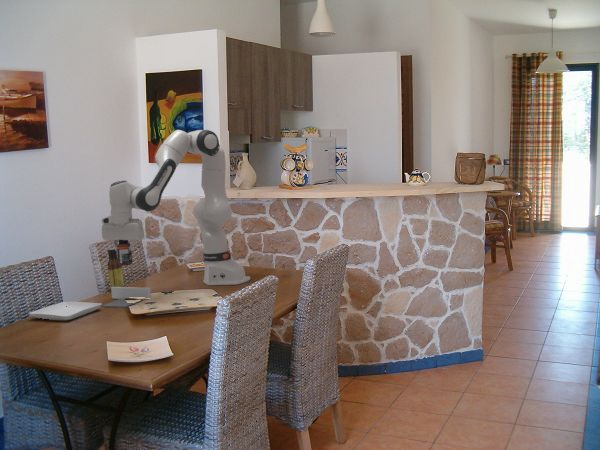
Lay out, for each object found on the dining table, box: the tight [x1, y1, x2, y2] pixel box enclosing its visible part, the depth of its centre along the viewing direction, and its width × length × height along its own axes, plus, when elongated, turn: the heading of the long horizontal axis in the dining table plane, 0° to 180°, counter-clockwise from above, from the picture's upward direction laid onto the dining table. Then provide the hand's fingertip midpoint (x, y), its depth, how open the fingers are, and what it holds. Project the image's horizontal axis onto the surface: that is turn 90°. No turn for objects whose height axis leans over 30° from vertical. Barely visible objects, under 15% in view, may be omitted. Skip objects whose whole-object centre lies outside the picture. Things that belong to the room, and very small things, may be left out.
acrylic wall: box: [110, 286, 152, 300], centre depth 321 cm, size 20×1×5 cm, turn 66°
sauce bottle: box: [107, 247, 125, 288], centre depth 341 cm, size 6×6×20 cm
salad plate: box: [28, 301, 103, 322], centre depth 299 cm, size 21×21×3 cm
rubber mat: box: [101, 299, 134, 309], centre depth 312 cm, size 12×12×1 cm
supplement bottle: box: [117, 240, 133, 267], centre depth 315 cm, size 6×6×11 cm
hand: (124, 250), depth 315 cm, fingers closed on supplement bottle, 6 cm apart
